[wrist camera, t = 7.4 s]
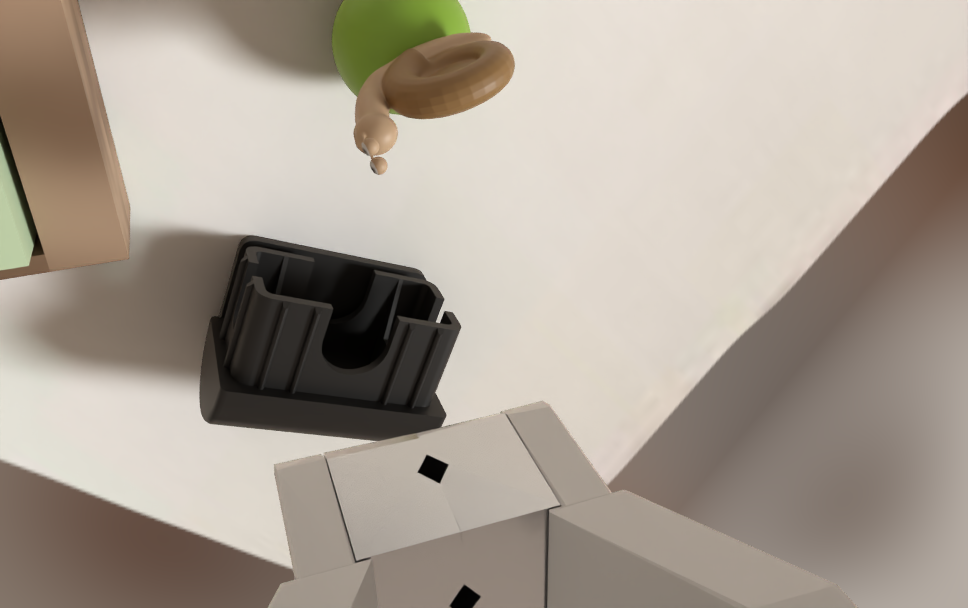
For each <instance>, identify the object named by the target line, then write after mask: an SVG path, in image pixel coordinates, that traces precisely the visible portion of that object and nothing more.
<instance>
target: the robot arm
mask: <svg viewBox="0 0 968 608" xmlns="http://www.w3.org/2000/svg"><path fill="white" fill-rule="evenodd" d="M274 475H275V480H276V485H277V490H278V495H279V500H280V505H281V510H282V515H283V520H284V526H285V531H286V536H287V541H288V546H289V551H290V556H291V561H292V566H293V571H294V576H295V580H292V581H289V582H285V583H282V584H281V585H280V586H279V588H278V590H277V592H276V594H275V596H274V597H273V599H272V601H271V603H270V605H269V606H268V608H858V607H857V606H856V605H855V604H854V603H853V602H852V601H851V600H850V598H848V596H847V595H846V594H845V593H844V592H843V591H842V590H841V589H840V587H839V586H838V585H836V584H834V583H832V582H830V581H828V580H825V579H823V578H821V577H819V576H816V575H814V574H812V573H809V572H807V571H805V570H803V569H801V568H798V567H796V566H794V565H791V564H789V563H787V562H785V561H783V560H781V559H778V558H776V557H774V556H772V555H769V554H767V553H765V552H763V551H760V550H758V549H756V548H753V547H752V546H749V545H747V544H745V543H743V542H740V541H738V540H736V539H734V538H731V537H729V536H727V535H725V534H722V533H720V532H718V531H716V530H713V529H711V528H709V527H707V526H705V525H702V524H700V523H698V522H696V521H693V520H691V519H689V518H687V517H684V516H682V515H680V514H678V513H675V512H673V511H671V510H669V509H666V508H664V507H662V506H660V505H658V504H655V503H653V502H651V501H649V500H646V499H644V498H642V497H640V496H638V495H635V494H633V493H631V492H629V491H626V490H621V491H617V492H614V493H612V492H611V491H610V490H609V488H608V487H607V485H606V484H605V482H604V481H603V480H602V478H601V477H600V475H599V474H598V472H597V471H596V470H595V468H594V467H593V465H592V464H591V462H590V461H589V460H588V458H587V457H586V455H585V454H584V453H583V451H582V450H581V448H580V447H579V445H578V444H577V443H576V441H575V440H574V438H573V437H572V435H571V434H570V433H569V431H568V430H567V428H566V427H565V426H564V424H563V423H562V421H561V420H560V418H559V417H558V416H557V414H556V413H555V411H554V410H553V408H552V407H551V406H550V404H548V403H546V402H544V401H540V402H536V403H532V404H528V405H524V406H520V407H517V408H513V409H509V410H505V411H501V412H500V414H494V415H490V416H486V417H482V418H477V419H473V420H469V421H465V422H461V423H457V424H453V425H449V426H445V427H440V428H436V429H432V430H428V431H424V432H420V433H416V434H415V433H414V434H410V435H405V436H400V437H396V438H391V439H386V440H381V441H377V442H372V443H367V444H363V445H358V446H353V447H349V448H344V449H339V450H335V451H330V452H325V453H324V457H323V456H322V455H321V454H319V455H314V456H310V457H305V458H301V459H296V460H291V461H287V462H282V463H278V464H274Z"/></svg>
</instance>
